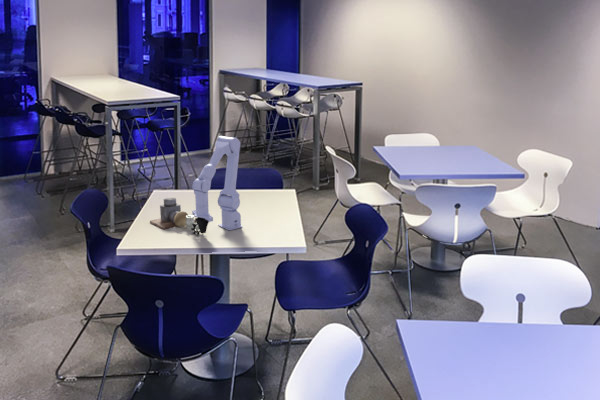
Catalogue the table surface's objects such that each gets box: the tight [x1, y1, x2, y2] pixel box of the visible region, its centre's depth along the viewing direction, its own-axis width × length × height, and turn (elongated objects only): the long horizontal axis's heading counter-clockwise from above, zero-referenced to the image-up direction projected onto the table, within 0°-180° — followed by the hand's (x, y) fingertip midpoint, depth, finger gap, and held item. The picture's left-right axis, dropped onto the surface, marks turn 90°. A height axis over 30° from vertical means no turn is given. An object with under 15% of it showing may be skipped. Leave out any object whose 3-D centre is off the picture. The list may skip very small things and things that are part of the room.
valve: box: [185, 214, 201, 236], centre depth 297 cm, size 7×7×12 cm
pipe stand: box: [149, 197, 196, 230], centre depth 309 cm, size 16×18×12 cm
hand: (203, 232), depth 291 cm, fingers closed
